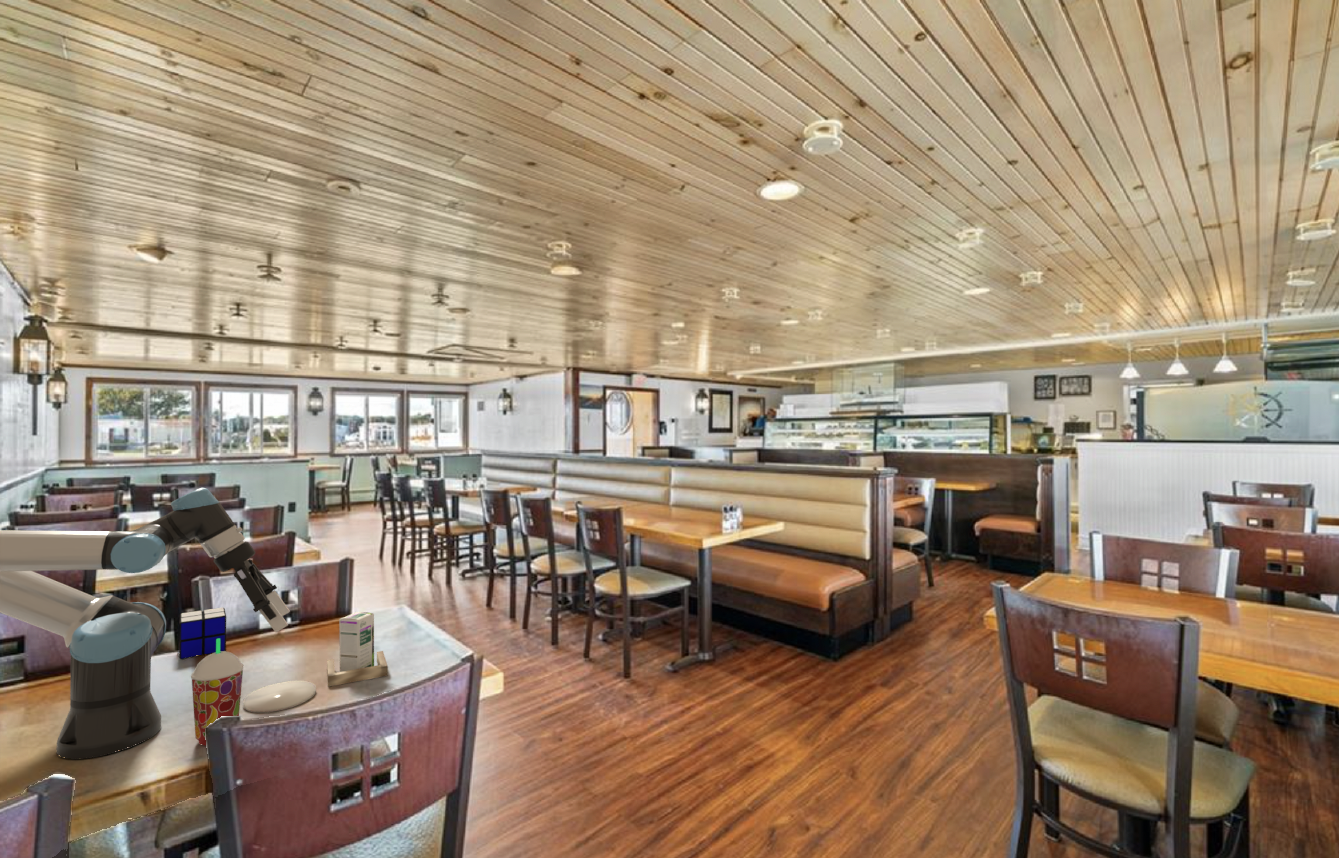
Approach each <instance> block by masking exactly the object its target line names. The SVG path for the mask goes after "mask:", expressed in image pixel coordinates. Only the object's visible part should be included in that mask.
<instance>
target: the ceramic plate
mask: <svg viewBox="0 0 1339 858" xmlns="http://www.w3.org/2000/svg"><path fill="white" fill-rule="evenodd" d="M316 693H317V686H316V684H315V683H313V682H311V681H307V680H289V681H282V682H278V683H277V682H276V683H273V684H268V685H266V686H263V687H260V688H258V689H255V690H254V691H251V692H249V693H248V694H247V695H246V696H245V697H244V698H243V703H242V707H243V709H244V710H245V711H248V712H252V713H271V712H272V713H273V712H279V711H283V710H286V709H291V708H294V707H296V706H299V705H301V704H304V703H306V702H308V701H309V700H310V699H312V698H314V696H315V695H316ZM278 710H279V711H278Z"/></svg>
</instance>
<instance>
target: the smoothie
mask: <svg viewBox="0 0 1339 858" xmlns="http://www.w3.org/2000/svg"><path fill="white" fill-rule="evenodd" d="M243 671H244V664H243V663H242V662H241V660H240V658H239V657H238V656H237V655H235V654H234V653H232V652H230V651H227V650H226V651H220V638H218V639H216V652H215V653H212V654H207V655H206V656H205V657H204V658H202V659H201V660H200V661H199V662H198V663H197V664H196V667H195V669H194V671H193V672H192V673H191V675H190V678H191V689H192V691H191V692H192V704H193V718H194V719H193V720H194V732H195V735H194V736H195V739H196V740H197V741H198V743H199V745H200V744H202V745H201V746H205V747H207V746H206V740H205V729H206V727H207V726H208V725H209V724H210V723H213V722H214V721H215V720H216V719H218V718H220V717H221V716H239V717H240V710H241V709H240V708H241V697H242V696H241V695H242V686H243V684H242V683H243Z"/></svg>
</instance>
